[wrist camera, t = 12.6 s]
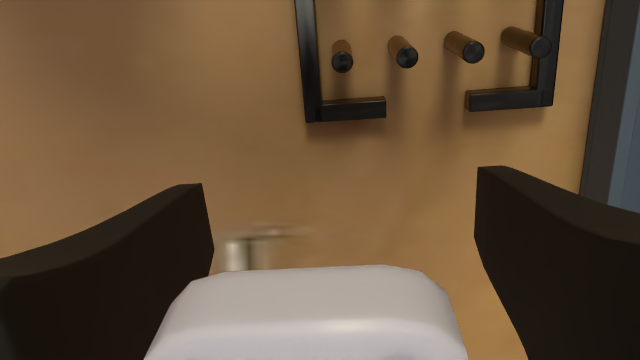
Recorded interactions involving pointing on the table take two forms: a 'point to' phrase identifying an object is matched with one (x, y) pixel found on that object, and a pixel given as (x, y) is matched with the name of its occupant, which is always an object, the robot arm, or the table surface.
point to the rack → (316, 110)
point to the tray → (616, 112)
